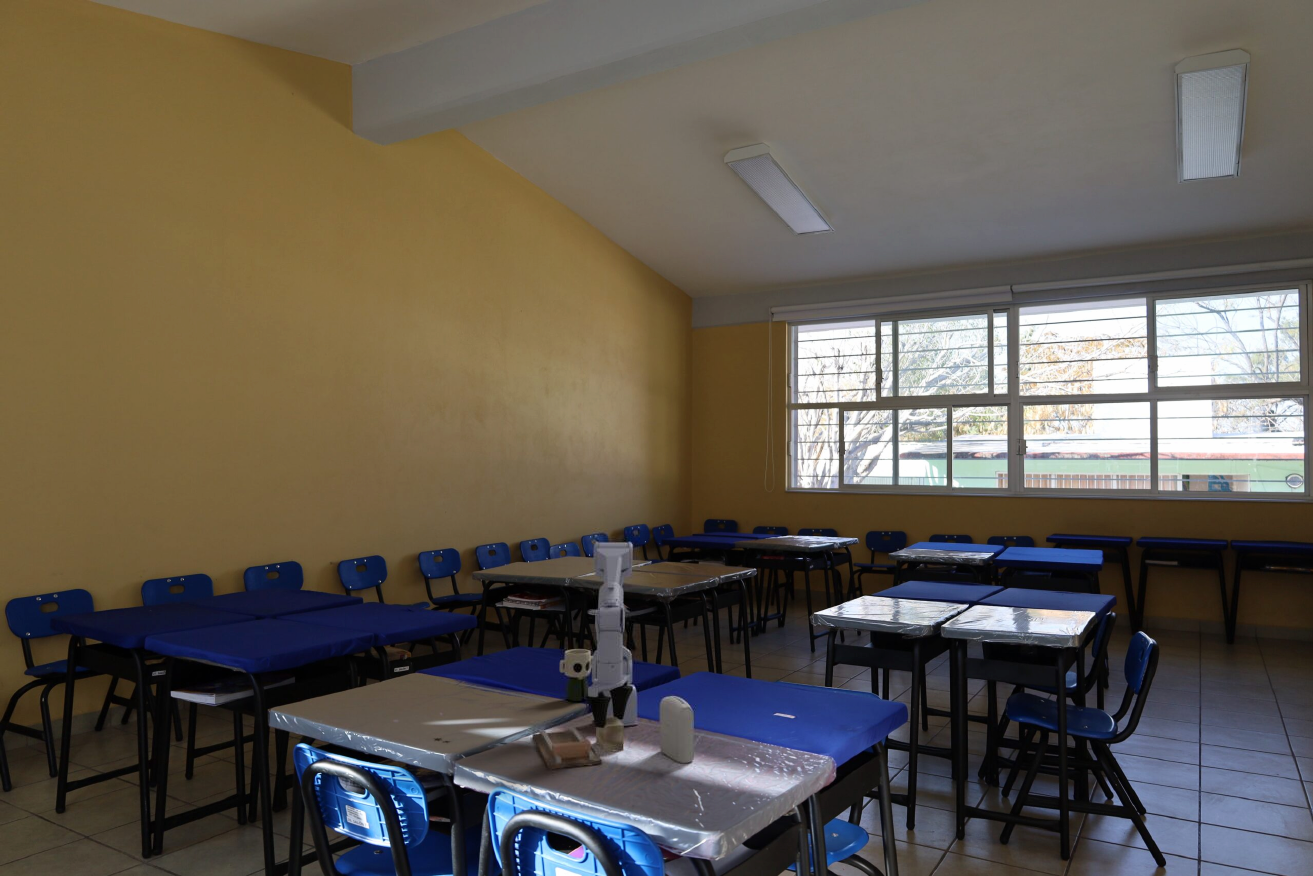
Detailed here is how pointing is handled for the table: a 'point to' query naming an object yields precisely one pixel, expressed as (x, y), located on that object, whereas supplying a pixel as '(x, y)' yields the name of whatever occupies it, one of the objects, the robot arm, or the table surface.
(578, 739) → the rail
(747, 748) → the table surface
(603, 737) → the block
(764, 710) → the table surface
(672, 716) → the photo printer
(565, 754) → the tan wooden bar
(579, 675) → the character mug
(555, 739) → the mounting board
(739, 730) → the table surface
